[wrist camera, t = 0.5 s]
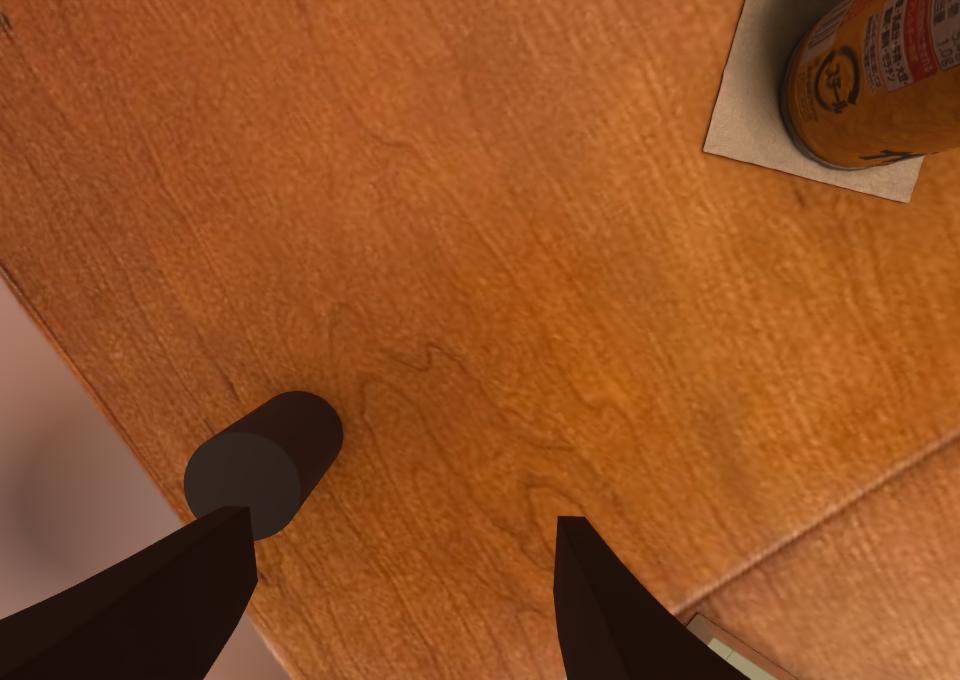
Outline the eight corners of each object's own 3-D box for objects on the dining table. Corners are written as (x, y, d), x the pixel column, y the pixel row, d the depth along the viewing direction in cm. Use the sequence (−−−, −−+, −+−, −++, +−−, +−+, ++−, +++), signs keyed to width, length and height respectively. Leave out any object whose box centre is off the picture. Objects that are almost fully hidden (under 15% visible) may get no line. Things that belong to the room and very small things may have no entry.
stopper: (273, 485, 20) (208, 556, 15) (241, 405, 19) (164, 451, 15) (355, 460, 20) (317, 523, 15) (325, 379, 19) (277, 417, 14)
